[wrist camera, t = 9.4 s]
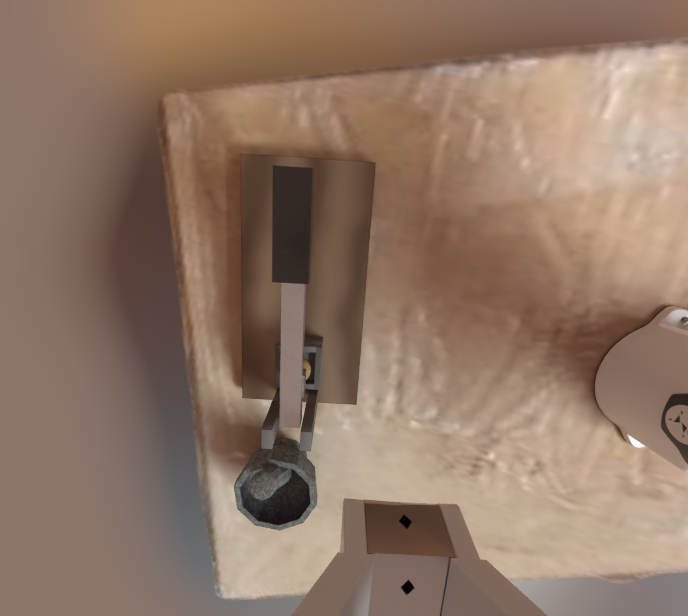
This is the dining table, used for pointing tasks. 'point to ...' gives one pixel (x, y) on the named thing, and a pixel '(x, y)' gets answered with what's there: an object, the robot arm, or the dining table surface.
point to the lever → (292, 278)
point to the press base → (321, 293)
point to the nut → (307, 368)
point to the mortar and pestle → (277, 486)
